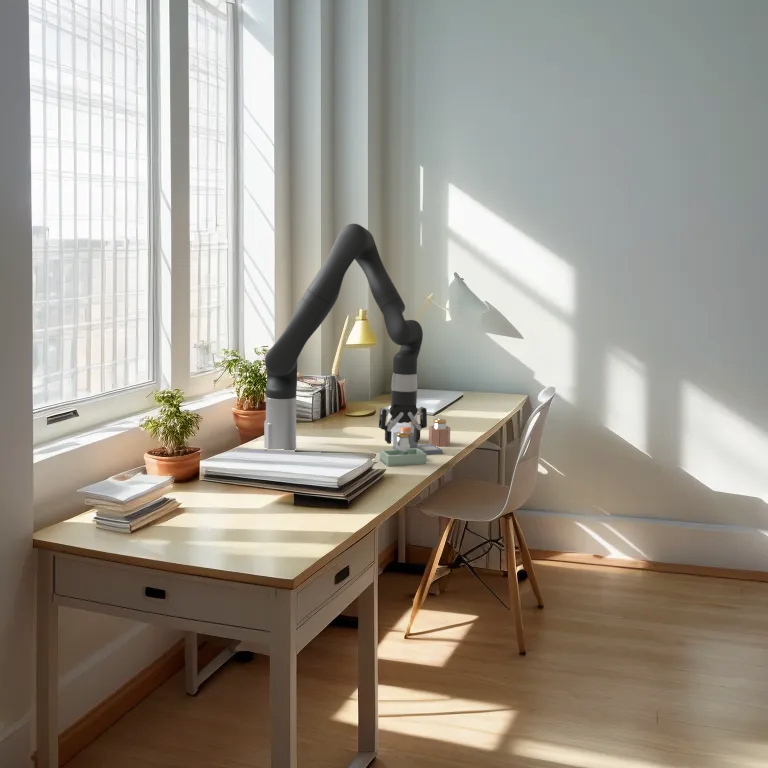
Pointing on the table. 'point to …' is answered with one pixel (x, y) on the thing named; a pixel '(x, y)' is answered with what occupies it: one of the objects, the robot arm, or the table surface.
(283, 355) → the robot arm
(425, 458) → the trough
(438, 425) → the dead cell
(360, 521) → the table surface
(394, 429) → the photo printer
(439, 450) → the grey stepped block
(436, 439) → the cup
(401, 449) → the cylinder
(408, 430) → the button
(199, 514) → the table surface
